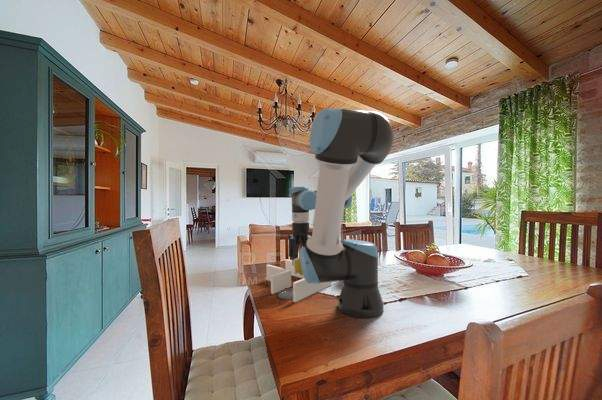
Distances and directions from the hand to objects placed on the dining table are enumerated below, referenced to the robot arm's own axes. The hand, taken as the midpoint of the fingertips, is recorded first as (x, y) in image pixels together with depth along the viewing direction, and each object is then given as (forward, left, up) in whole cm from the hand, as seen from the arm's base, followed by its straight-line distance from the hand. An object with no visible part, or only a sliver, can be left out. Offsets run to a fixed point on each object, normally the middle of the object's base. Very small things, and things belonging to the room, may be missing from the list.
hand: (301, 274), depth 112 cm
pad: (-4, +13, -4) cm, 14 cm away
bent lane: (+2, +4, -4) cm, 7 cm away
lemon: (0, 0, -1) cm, 1 cm away
